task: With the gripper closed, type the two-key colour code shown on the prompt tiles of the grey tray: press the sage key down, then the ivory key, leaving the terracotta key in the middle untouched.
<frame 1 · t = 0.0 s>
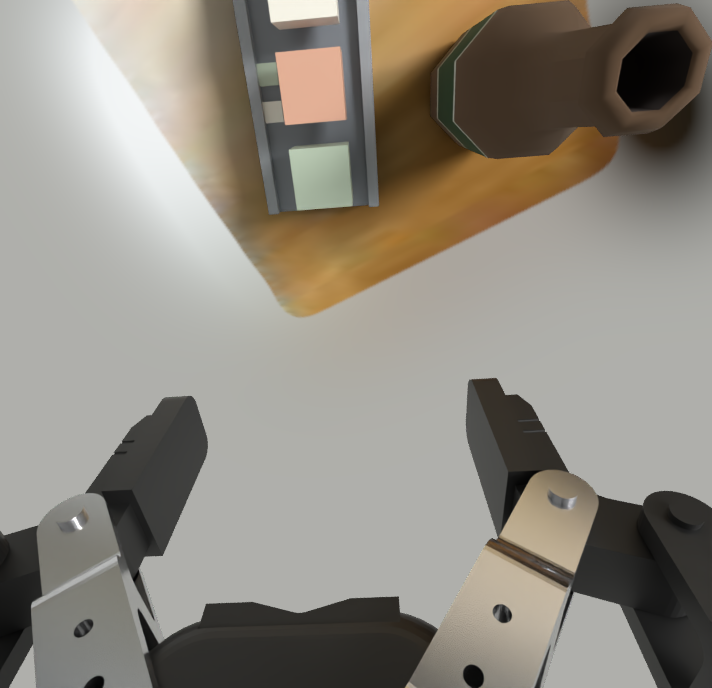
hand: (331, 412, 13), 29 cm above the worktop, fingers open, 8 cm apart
key sage: (323, 175, 32), point 6 cm above the worktop, slide at 0.0 cm
beer bottle: (473, 91, 34), on the worktop
key terracotta: (313, 88, 29), point 6 cm above the worktop, slide at 0.0 cm
grey tray: (314, 90, 34), on the worktop
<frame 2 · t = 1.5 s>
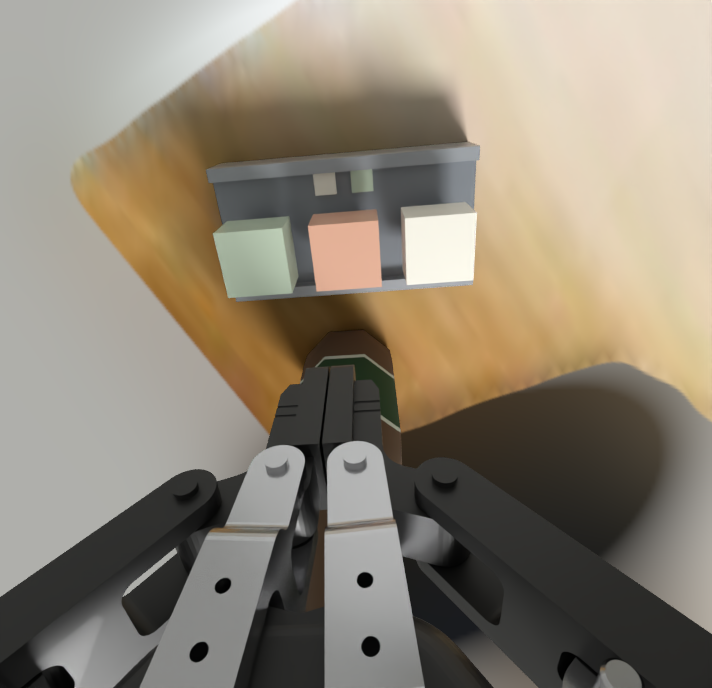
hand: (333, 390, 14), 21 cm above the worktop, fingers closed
key sage: (259, 256, 27), point 6 cm above the worktop, slide at 0.0 cm
key ivory: (436, 243, 27), point 6 cm above the worktop, slide at 0.0 cm
beer bottle: (349, 363, 38), on the worktop
key terracotta: (346, 250, 27), point 6 cm above the worktop, slide at 0.0 cm
grey tray: (348, 219, 32), on the worktop
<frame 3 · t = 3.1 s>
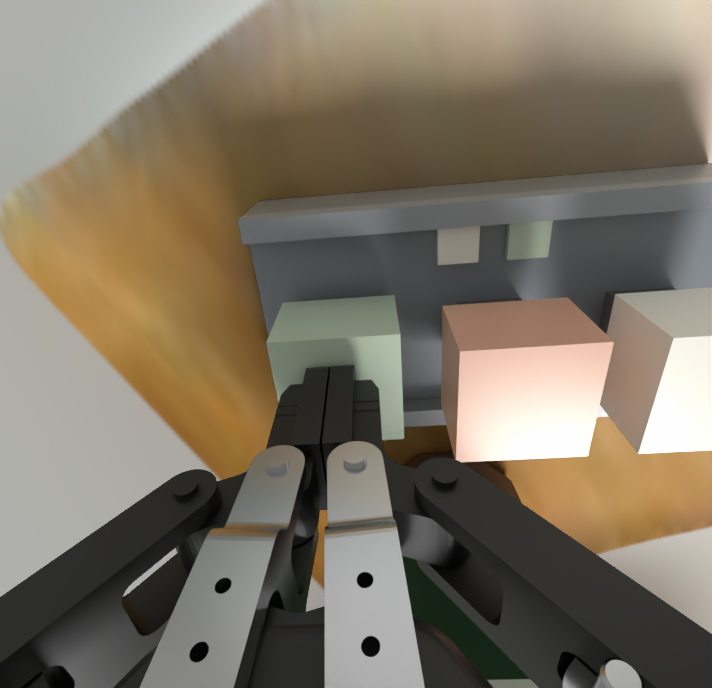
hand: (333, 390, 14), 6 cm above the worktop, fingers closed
key sage: (341, 368, 15), point 5 cm above the worktop, slide at 1.2 cm, touching gripper
key ivory: (693, 367, 13), point 6 cm above the worktop, slide at 0.0 cm
beer bottle: (444, 493, 25), on the worktop
key terracotta: (512, 378, 14), point 6 cm above the worktop, slide at 0.0 cm
grey tray: (472, 292, 19), on the worktop
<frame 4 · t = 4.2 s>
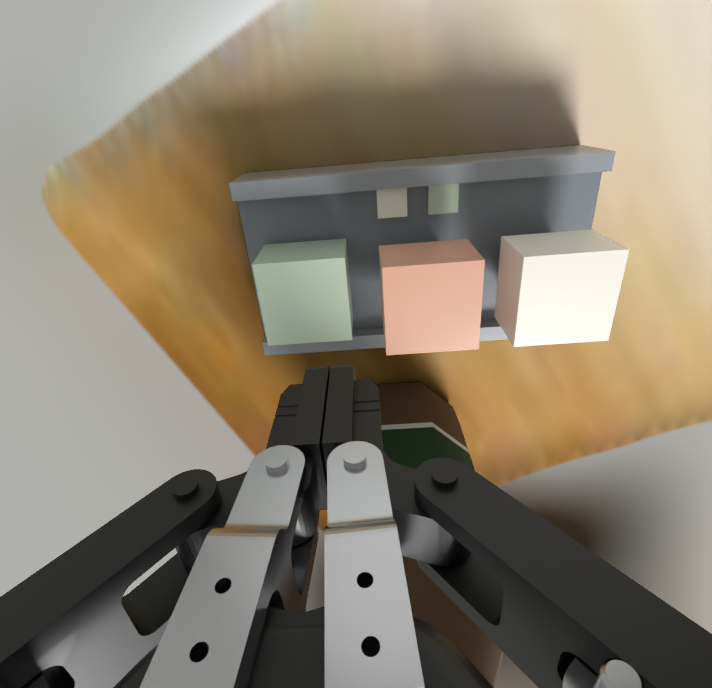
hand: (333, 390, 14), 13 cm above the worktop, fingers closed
key sage: (307, 291, 21), point 4 cm above the worktop, slide at 1.6 cm
key ivory: (553, 287, 19), point 6 cm above the worktop, slide at 0.0 cm
beer bottle: (399, 420, 30), on the worktop
key terracotta: (427, 296, 19), point 6 cm above the worktop, slide at 0.0 cm
grey tray: (411, 246, 24), on the worktop
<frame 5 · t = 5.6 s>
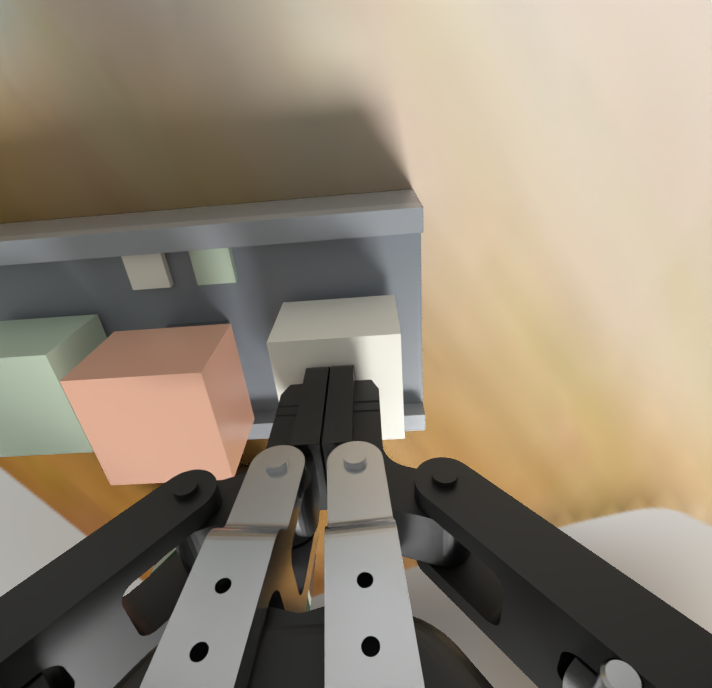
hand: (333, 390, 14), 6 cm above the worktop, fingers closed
key sage: (42, 384, 16), point 4 cm above the worktop, slide at 1.6 cm
key ivory: (342, 368, 15), point 5 cm above the worktop, slide at 1.5 cm, touching gripper
beer bottle: (255, 505, 25), on the worktop
key terracotta: (171, 403, 14), point 6 cm above the worktop, slide at 0.0 cm
grey tray: (221, 311, 19), on the worktop
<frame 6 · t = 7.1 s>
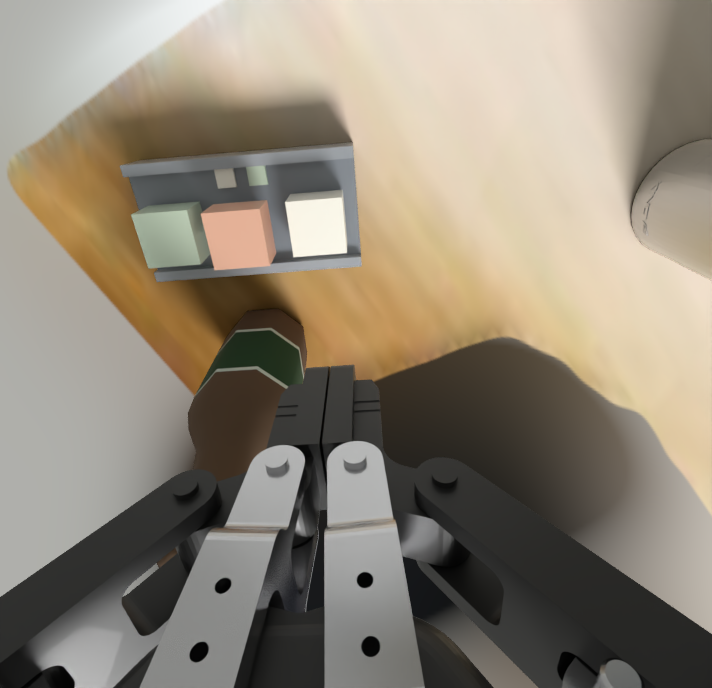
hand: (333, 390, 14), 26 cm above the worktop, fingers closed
key sage: (174, 234, 33), point 4 cm above the worktop, slide at 1.6 cm
key ivory: (318, 223, 33), point 4 cm above the worktop, slide at 1.6 cm
beer bottle: (270, 339, 43), on the worktop
key terracotta: (241, 234, 31), point 6 cm above the worktop, slide at 0.0 cm
grey tray: (255, 209, 36), on the worktop
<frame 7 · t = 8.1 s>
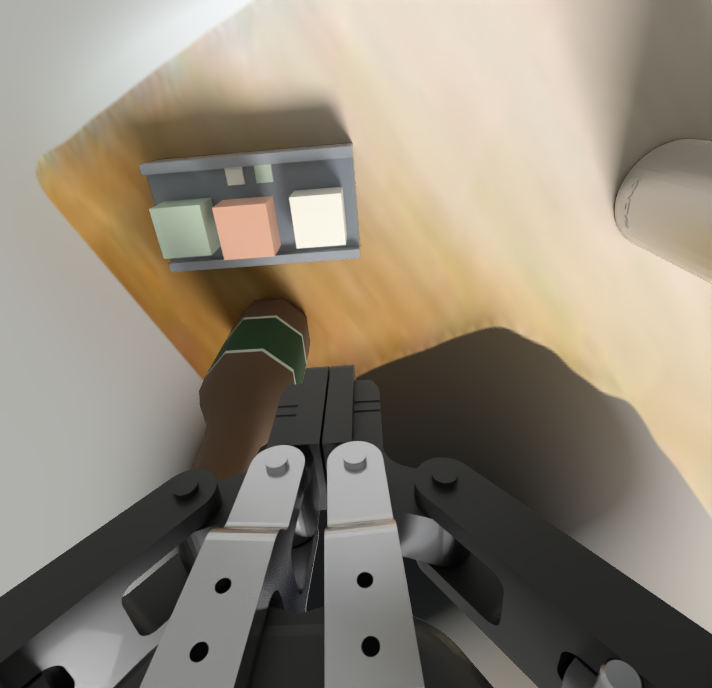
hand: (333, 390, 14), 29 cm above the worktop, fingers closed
key sage: (187, 228, 36), point 4 cm above the worktop, slide at 1.6 cm
key ivory: (319, 217, 35), point 4 cm above the worktop, slide at 1.6 cm
beer bottle: (275, 328, 45), on the worktop
key terracotta: (248, 227, 34), point 6 cm above the worktop, slide at 0.0 cm
grey tray: (262, 205, 39), on the worktop
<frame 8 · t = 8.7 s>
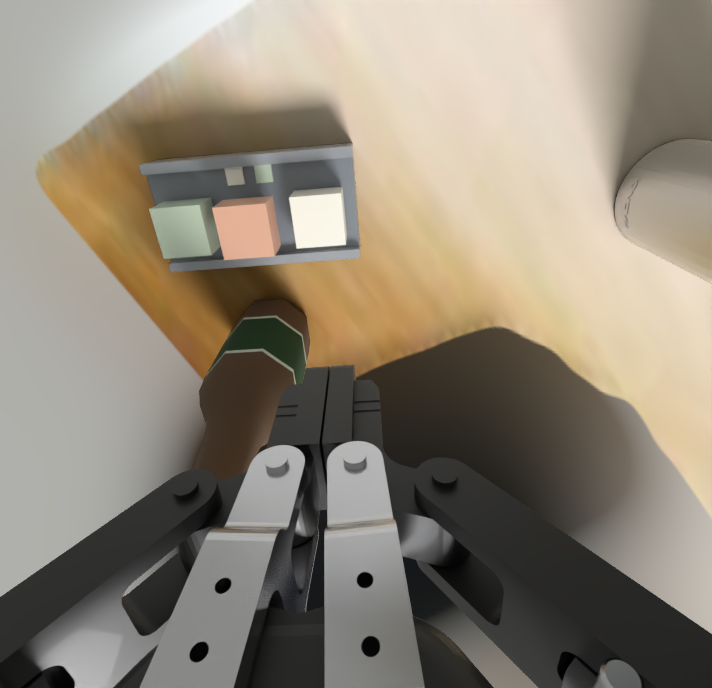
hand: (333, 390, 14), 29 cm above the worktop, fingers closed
key sage: (187, 228, 36), point 4 cm above the worktop, slide at 1.6 cm
key ivory: (319, 217, 35), point 4 cm above the worktop, slide at 1.6 cm
beer bottle: (275, 328, 45), on the worktop
key terracotta: (248, 227, 34), point 6 cm above the worktop, slide at 0.0 cm
grey tray: (262, 205, 39), on the worktop
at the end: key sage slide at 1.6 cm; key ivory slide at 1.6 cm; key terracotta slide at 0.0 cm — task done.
